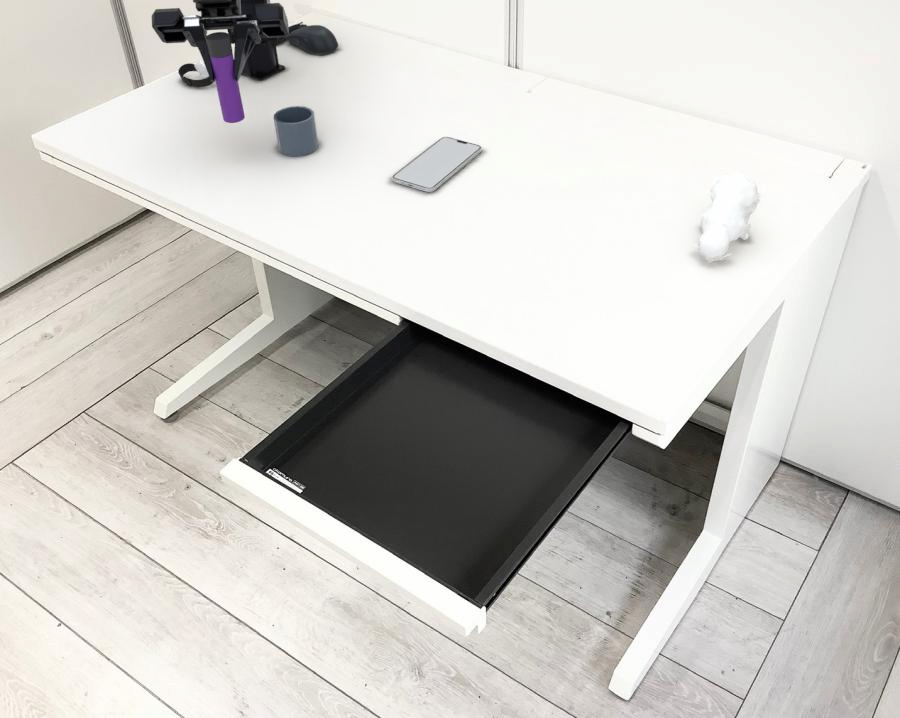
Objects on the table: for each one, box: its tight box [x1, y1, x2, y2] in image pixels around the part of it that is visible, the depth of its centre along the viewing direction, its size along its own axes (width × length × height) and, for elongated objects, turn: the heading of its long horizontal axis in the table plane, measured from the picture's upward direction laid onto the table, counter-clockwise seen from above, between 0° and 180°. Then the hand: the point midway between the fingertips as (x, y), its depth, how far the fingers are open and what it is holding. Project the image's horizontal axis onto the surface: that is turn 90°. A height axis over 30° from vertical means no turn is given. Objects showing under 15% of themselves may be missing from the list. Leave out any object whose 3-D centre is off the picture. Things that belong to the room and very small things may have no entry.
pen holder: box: [273, 105, 319, 158], centre depth 140 cm, size 6×6×6 cm
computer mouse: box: [275, 21, 339, 56], centre depth 172 cm, size 10×15×4 cm
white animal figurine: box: [693, 172, 761, 264], centre depth 115 cm, size 6×8×12 cm
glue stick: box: [206, 31, 246, 124], centre depth 130 cm, size 3×3×12 cm
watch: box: [177, 60, 215, 88], centre depth 160 cm, size 8×5×4 cm, turn 54°
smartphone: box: [391, 136, 482, 193], centre depth 135 cm, size 7×1×15 cm
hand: (224, 80), depth 129 cm, fingers closed on glue stick, 3 cm apart
